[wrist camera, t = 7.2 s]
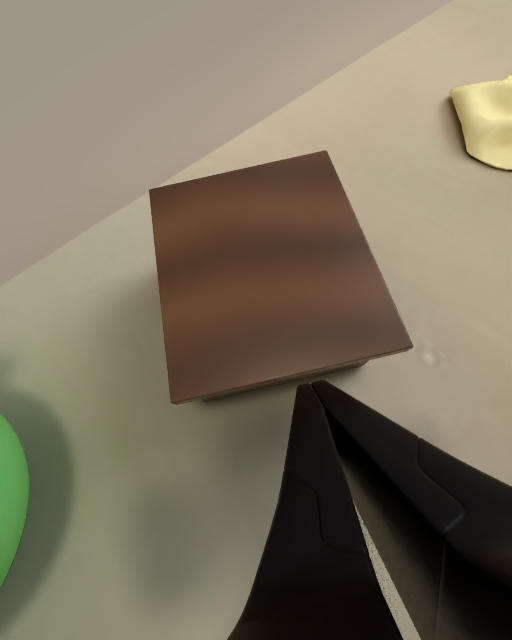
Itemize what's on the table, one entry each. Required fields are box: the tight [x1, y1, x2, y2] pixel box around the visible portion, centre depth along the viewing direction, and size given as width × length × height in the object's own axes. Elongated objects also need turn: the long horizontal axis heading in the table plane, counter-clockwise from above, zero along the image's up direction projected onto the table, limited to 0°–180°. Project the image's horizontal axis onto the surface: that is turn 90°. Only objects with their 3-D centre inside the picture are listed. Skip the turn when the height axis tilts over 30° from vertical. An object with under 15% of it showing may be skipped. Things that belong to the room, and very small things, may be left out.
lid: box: [149, 150, 413, 405], centre depth 16 cm, size 13×12×1 cm
